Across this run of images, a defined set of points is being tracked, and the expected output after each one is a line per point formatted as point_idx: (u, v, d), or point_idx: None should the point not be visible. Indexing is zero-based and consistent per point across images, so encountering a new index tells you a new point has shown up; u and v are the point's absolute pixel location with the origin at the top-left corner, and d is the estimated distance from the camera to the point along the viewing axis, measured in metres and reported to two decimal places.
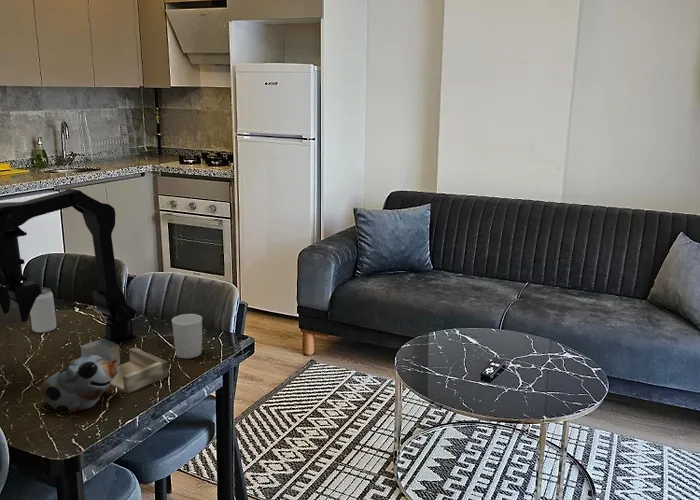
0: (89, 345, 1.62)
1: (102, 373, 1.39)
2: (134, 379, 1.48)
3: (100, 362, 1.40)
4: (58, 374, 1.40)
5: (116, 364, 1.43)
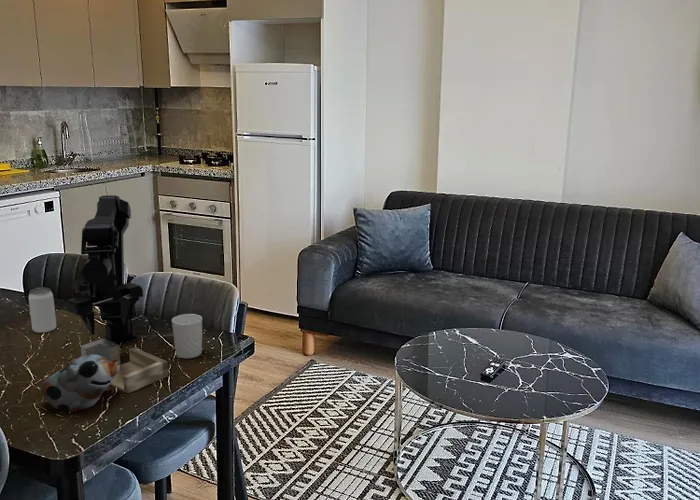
0: (89, 345, 1.62)
1: (102, 372, 1.39)
2: (134, 379, 1.48)
3: (101, 362, 1.40)
4: (58, 373, 1.40)
5: (116, 363, 1.44)
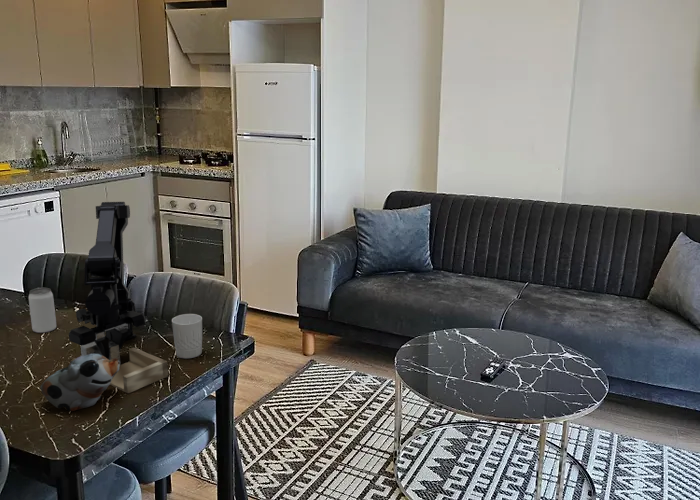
0: (89, 345, 1.62)
1: (103, 372, 1.40)
2: (134, 379, 1.48)
3: (101, 361, 1.41)
4: (59, 373, 1.41)
5: (117, 362, 1.44)
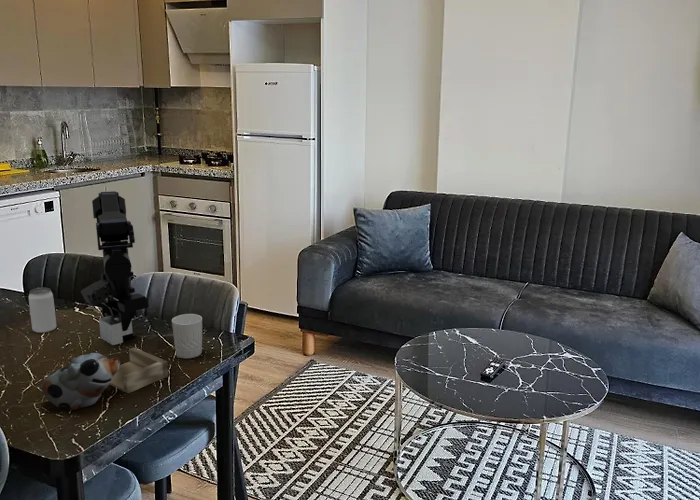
0: (113, 322, 1.49)
1: (103, 371, 1.40)
2: (134, 379, 1.48)
3: (101, 360, 1.41)
4: (59, 372, 1.41)
5: (117, 361, 1.44)
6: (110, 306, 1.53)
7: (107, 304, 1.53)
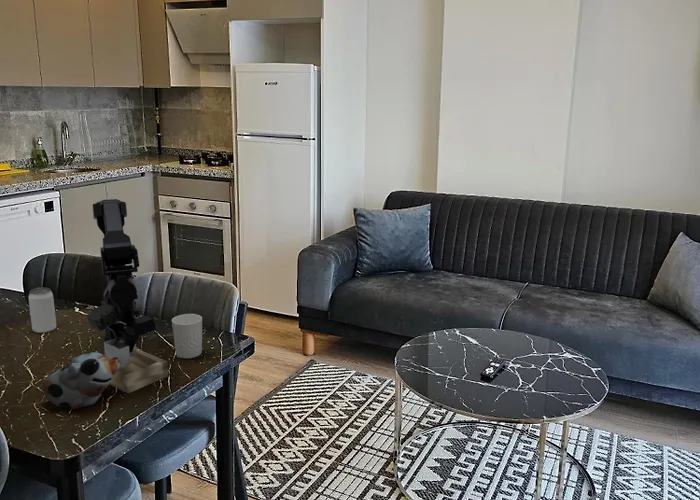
0: (120, 345, 1.50)
1: (103, 370, 1.40)
2: (134, 379, 1.48)
3: (102, 359, 1.42)
4: (59, 372, 1.41)
5: (117, 361, 1.45)
6: (114, 329, 1.54)
7: (111, 327, 1.53)
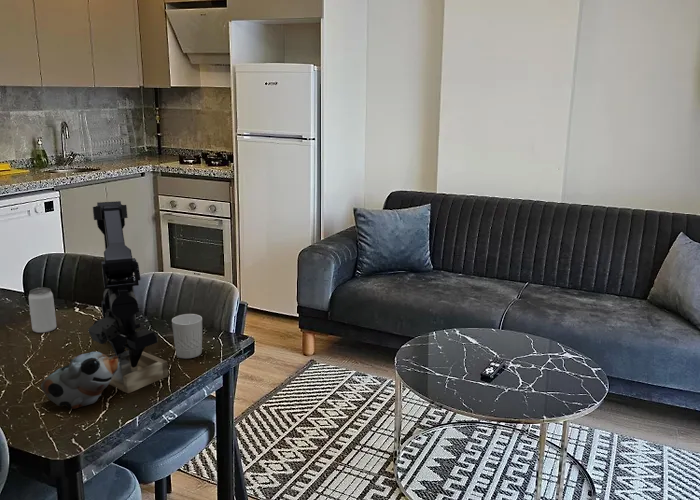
0: (122, 361, 1.51)
1: (104, 369, 1.41)
2: (134, 379, 1.48)
3: (102, 359, 1.42)
4: (59, 371, 1.41)
5: (117, 360, 1.45)
6: (112, 340, 1.55)
7: None
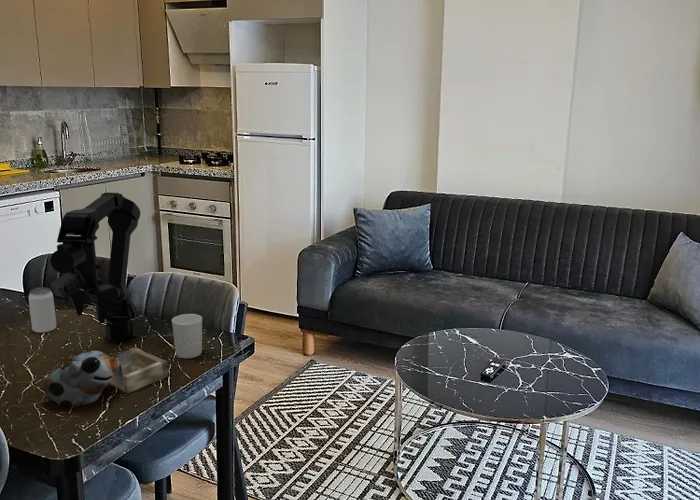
0: (122, 361, 1.51)
1: (104, 368, 1.41)
2: (134, 379, 1.48)
3: (102, 357, 1.43)
4: (60, 370, 1.42)
5: (117, 359, 1.46)
6: (70, 295, 1.61)
7: None
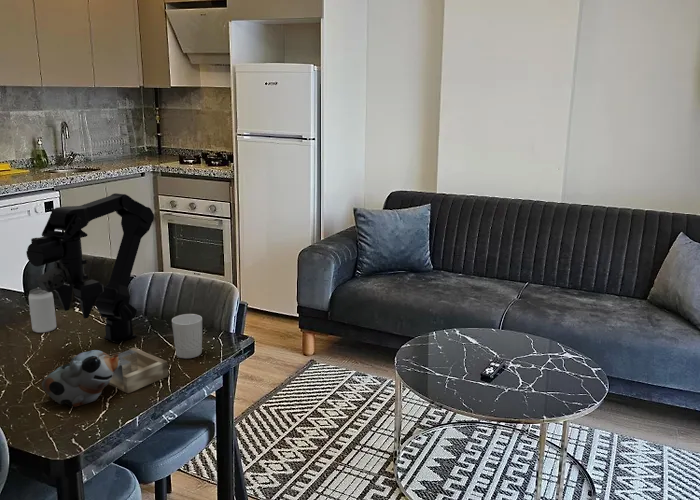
0: (122, 361, 1.51)
1: (104, 367, 1.42)
2: (134, 379, 1.48)
3: (102, 357, 1.43)
4: (60, 369, 1.42)
5: (117, 358, 1.46)
6: (57, 290, 1.64)
7: (54, 288, 1.63)
